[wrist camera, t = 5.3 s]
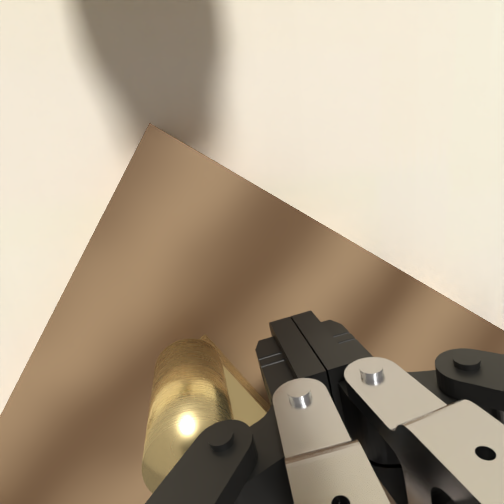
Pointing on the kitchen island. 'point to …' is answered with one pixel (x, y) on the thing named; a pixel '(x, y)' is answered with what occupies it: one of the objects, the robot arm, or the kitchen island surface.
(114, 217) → the levelling board
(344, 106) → the kitchen island surface
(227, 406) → the grey and tan lever
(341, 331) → the robot arm
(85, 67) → the kitchen island surface
